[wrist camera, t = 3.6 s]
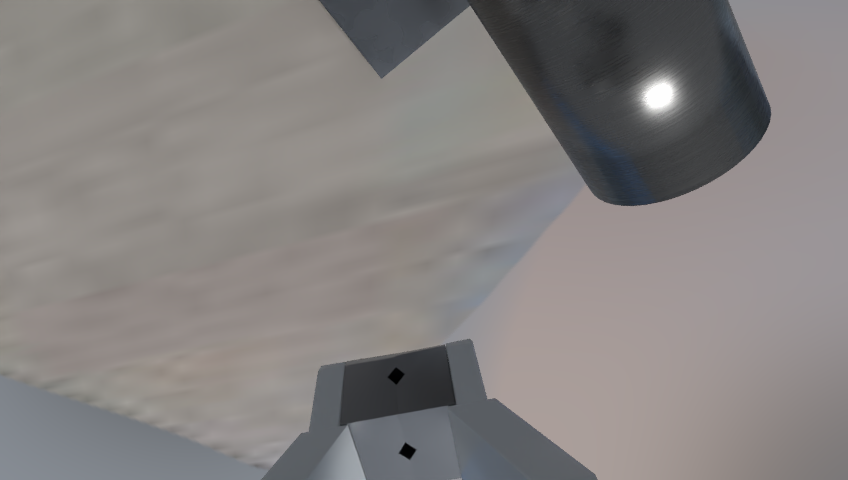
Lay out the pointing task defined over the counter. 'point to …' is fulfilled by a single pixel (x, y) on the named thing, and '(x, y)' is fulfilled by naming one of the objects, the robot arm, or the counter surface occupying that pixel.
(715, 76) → the elbow
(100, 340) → the counter surface
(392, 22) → the silver pedestal stand
